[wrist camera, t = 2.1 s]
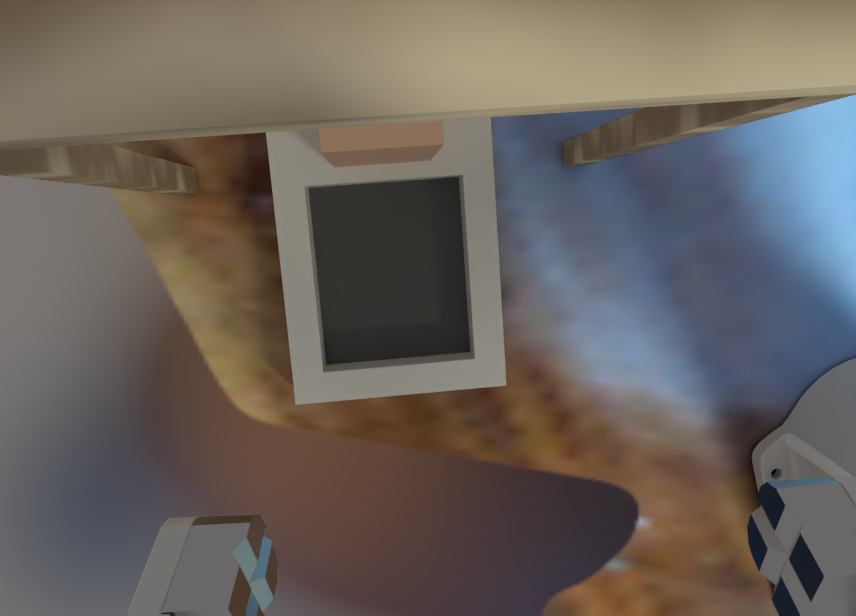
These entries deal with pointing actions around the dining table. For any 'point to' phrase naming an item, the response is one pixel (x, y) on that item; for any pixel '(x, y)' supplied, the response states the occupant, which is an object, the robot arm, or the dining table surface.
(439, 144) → the block
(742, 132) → the dining table surface
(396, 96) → the arch
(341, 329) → the tray
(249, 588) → the robot arm
